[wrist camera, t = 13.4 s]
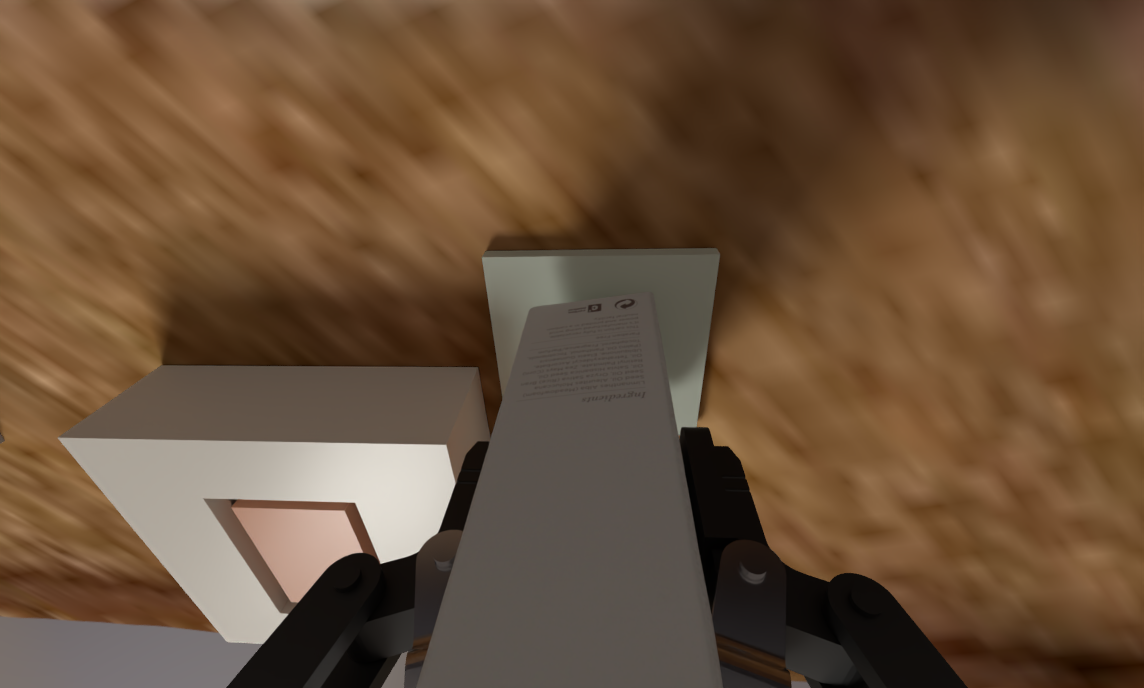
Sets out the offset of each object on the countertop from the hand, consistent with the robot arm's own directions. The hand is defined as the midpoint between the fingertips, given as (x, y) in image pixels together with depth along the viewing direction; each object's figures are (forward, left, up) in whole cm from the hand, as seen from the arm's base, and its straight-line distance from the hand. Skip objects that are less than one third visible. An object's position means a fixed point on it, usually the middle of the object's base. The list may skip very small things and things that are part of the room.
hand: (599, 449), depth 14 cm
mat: (0, 0, -6) cm, 6 cm away
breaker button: (+12, +8, -5) cm, 15 cm away
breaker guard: (+12, +8, -6) cm, 16 cm away
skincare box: (0, 0, -4) cm, 4 cm away
